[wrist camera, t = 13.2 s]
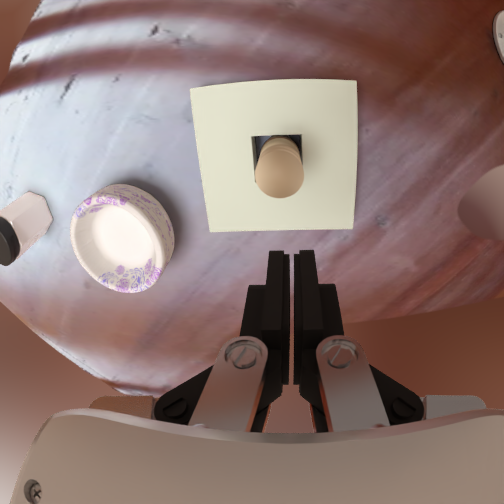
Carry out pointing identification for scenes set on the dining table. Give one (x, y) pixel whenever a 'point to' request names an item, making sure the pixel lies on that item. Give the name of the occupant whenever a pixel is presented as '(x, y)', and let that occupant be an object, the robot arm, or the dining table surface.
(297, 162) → the peg
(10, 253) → the jar
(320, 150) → the board
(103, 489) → the robot arm
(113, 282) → the paper bowls
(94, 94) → the dining table surface
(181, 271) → the dining table surface
